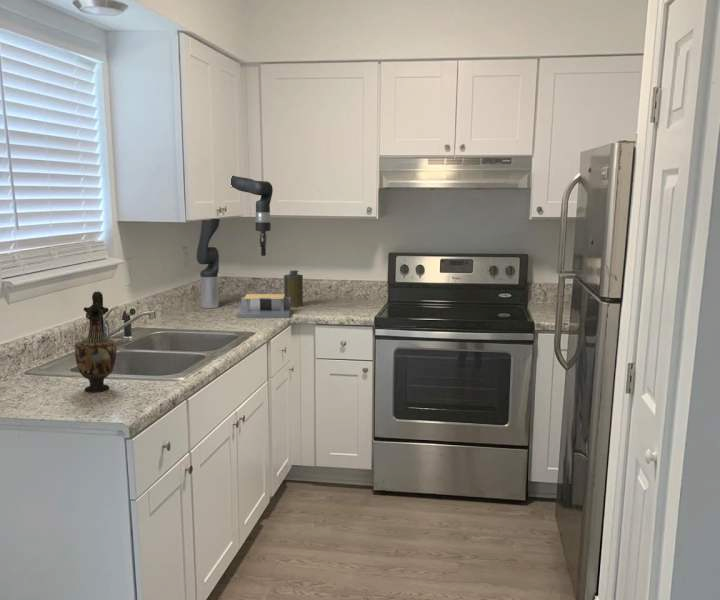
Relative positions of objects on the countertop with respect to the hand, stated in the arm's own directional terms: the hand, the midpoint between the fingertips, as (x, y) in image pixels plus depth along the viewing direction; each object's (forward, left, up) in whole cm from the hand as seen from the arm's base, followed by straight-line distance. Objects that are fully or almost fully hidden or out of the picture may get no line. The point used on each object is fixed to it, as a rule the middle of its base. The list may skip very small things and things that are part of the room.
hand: (263, 255), depth 309 cm
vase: (+124, -41, -31) cm, 134 cm away
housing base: (-3, 0, -31) cm, 31 cm away
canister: (-30, +14, -31) cm, 45 cm away
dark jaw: (-6, +6, -29) cm, 30 cm away
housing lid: (-5, 0, -22) cm, 23 cm away
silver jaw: (-6, -5, -29) cm, 30 cm away
